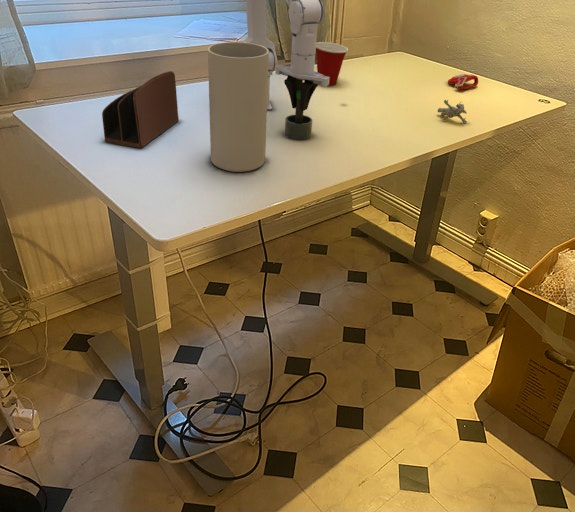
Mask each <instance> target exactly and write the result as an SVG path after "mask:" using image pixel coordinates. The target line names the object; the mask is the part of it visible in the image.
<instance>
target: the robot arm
mask: <svg viewBox="0 0 575 512" xmlns="http://www.w3.org/2000/svg"><path fill="white" fill-rule="evenodd" d="M285 3H286V4H287V6H288V7H289V8H288V19H289V23H290V26H289V27H290V32H291V34H292V35H291V38H292V39H291V53H290V65H283V64H278V57H277V53H276V45H275V43H274V42H273V41H271V40H270V39H269V38H268V37H267V15H266V0H245V10H246V30H247V37H246V38H245V39H244V40H243V41H242V42H244V43H252V44H257V45H261V46H263V47H265V48H267V49H268V50H269V60H268V90H267V111H271V110H273V106H272V104H271V102H270V90H271V89H270V85H271V76H273V73H274V72H275V75H278V76H279V75H281V76H286V78H285V79H284V81H283V84H284V85H285V87H286V89H287V92H288V95H289V99H290V104H291V109H296V91H298V90H300V93H301V104H300V109H301V111H303V112H305V111H306V110H308V108H309V104H310V102H311V99H312V97H313V94H314V92H315V90H316V89H317V87H318V86H319V85H320V86H321V87H324V88H325V87H329V86H328V85H329V79H330V77H327V76H324V75H322V74H320V73H317V71H315V64H316V43H317V40H318V39H317V37H318V27H319V25H320V24H321V23H322V21H323V19H324V15H325V7H324V4H323V2H322V0H285Z"/></svg>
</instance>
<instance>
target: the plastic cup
mask: <svg viewBox="0 0 575 512" xmlns="http://www.w3.org/2000/svg"><path fill="white" fill-rule="evenodd" d="M348 52H349V48H348V47H347V46H344V45H342V44H340V43H335V42H328V41H318V42H316V53H315V59H316V72H317V73H320V74H322V75H324V76H327V77H330V79H329V85H328V86H327V87H334V86H336V85H337V83H338V79H339V75H340V72H341V70H342V66H343V62H344V59H345V56H346V54H347V53H348Z"/></svg>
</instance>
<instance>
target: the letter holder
mask: <svg viewBox="0 0 575 512" xmlns="http://www.w3.org/2000/svg"><path fill="white" fill-rule="evenodd" d="M177 95H178V94H177V84H176V75H175V73H174V71H172V70H169V71H166V72H162V73H160V74H158V75H155V76H153V77H152V78H150V79H149V80H147V81H146V82H144V83H143V84H142V85H140V86H138V87H136V88H134V89H132V90H130V91H127V92H125V93H123V94H122V95H120V96H118V97H117V98H115V99H113V100H112V101H111V102H110V103H109V104H107V105H106V106H105V107H104V108H103V110H102V111H101V119H102V127H103V136H104V142H105V143H111V144H115V145H120V146H121V145H122V146H125V147H131V148H138V149H143V148H144V147H145V146H146V145H148V144H150V142H152V141H153V140H154V139H156V138H157V137H158V136H160V135H161V134H163V133H164V132H165V131H167V130H168V129H169V128H172V126H174V125H175V124H176V123H178V122H179V120H180V119H179V117H180V116H179V108H178V107H179V106H178V96H177Z"/></svg>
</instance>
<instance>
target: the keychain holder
mask: <svg viewBox="0 0 575 512" xmlns="http://www.w3.org/2000/svg"><path fill="white" fill-rule="evenodd" d="M472 80H473V83H472V84H469V85H466V86H463V85H464V84H465V83H468V82H470V81H472ZM447 84H450V85H454V87H455V88H457V89H458V90H468V89H471V88H475V87H476V86H478V84H479V77H478V76H477V75H474V74H471V73H470V74H465V73H463V74H462V73H461V74H457V75H454V76H452V77H451V78H449V79H447Z"/></svg>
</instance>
